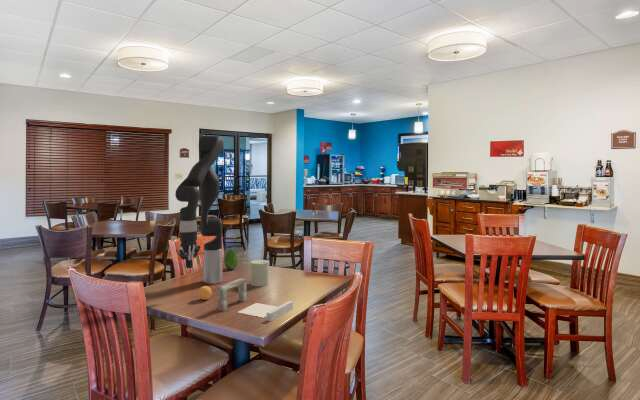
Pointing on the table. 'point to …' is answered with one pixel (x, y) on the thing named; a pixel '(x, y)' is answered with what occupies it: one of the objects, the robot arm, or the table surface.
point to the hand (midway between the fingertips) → (189, 267)
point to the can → (260, 273)
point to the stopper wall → (279, 310)
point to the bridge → (223, 288)
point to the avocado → (231, 259)
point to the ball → (204, 292)
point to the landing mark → (257, 310)
